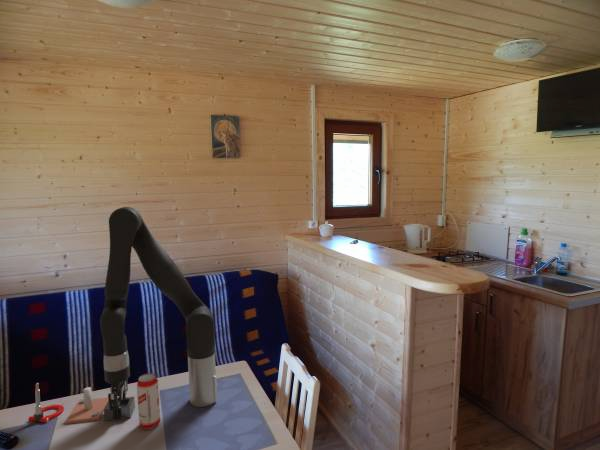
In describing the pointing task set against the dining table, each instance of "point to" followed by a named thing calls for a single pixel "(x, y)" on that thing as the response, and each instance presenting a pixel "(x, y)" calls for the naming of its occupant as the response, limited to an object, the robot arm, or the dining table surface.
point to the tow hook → (44, 409)
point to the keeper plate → (87, 414)
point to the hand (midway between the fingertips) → (120, 412)
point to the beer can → (148, 401)
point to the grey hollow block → (126, 409)
